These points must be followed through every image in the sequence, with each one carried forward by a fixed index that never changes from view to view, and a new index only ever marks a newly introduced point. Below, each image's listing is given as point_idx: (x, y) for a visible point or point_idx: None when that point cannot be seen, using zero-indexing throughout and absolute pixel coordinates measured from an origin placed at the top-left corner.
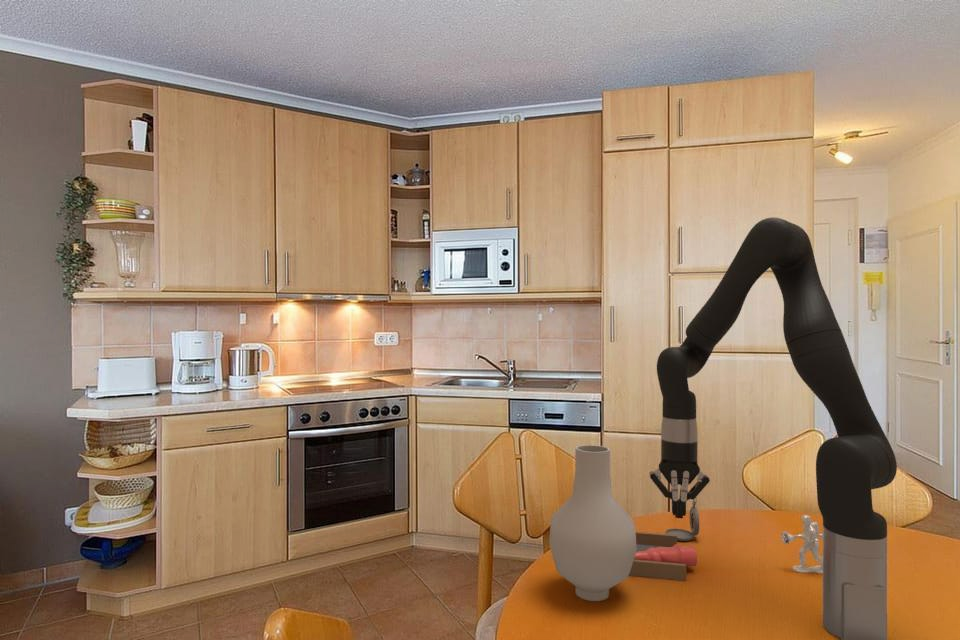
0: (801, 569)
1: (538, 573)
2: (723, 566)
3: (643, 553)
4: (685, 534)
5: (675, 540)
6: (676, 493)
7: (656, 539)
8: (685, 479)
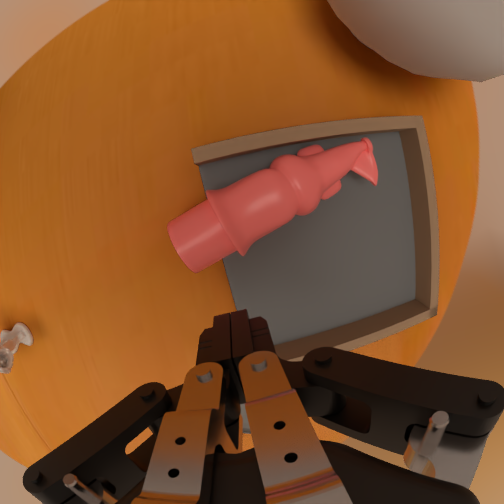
0: (19, 329)
1: (467, 92)
2: (127, 294)
3: (327, 159)
4: (243, 423)
5: None
6: (255, 387)
7: (303, 347)
8: (171, 492)
